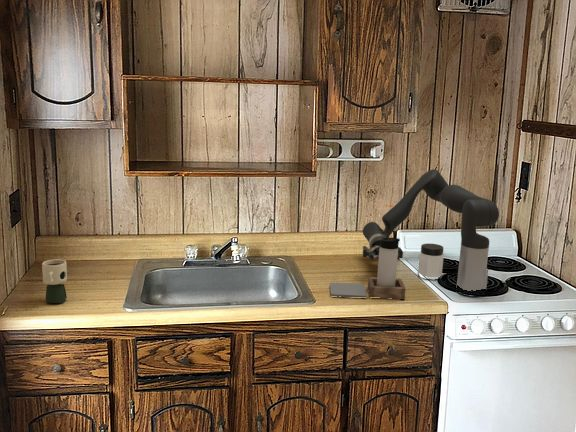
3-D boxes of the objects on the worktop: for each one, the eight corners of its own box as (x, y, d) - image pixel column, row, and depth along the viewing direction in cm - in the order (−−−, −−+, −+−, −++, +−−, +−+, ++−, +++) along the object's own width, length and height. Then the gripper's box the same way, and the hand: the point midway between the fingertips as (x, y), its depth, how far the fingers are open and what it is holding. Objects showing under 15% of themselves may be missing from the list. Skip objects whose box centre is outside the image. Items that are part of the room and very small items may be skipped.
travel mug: (390, 298, 202) (394, 241, 198) (372, 293, 206) (377, 237, 202) (398, 293, 207) (403, 237, 203) (381, 289, 211) (385, 234, 207)
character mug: (63, 308, 185) (61, 267, 182) (39, 308, 184) (36, 267, 181) (72, 295, 195) (70, 257, 192) (49, 295, 195) (47, 257, 192)
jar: (446, 279, 225) (449, 248, 222) (429, 281, 221) (432, 250, 218) (429, 272, 232) (432, 242, 230) (413, 274, 228) (416, 244, 226)
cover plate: (363, 287, 213) (363, 283, 212) (366, 299, 201) (366, 295, 201) (329, 285, 213) (330, 282, 213) (330, 297, 201) (330, 294, 201)
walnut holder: (400, 289, 212) (401, 278, 211) (404, 300, 201) (405, 288, 200) (367, 287, 212) (368, 277, 211) (370, 298, 202) (371, 287, 201)
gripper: (397, 255, 228) (404, 268, 212) (360, 254, 229) (363, 267, 213) (399, 236, 227) (405, 248, 211) (361, 235, 227) (364, 247, 211)
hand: (384, 258), depth 212 cm, fingers open, 8 cm apart
